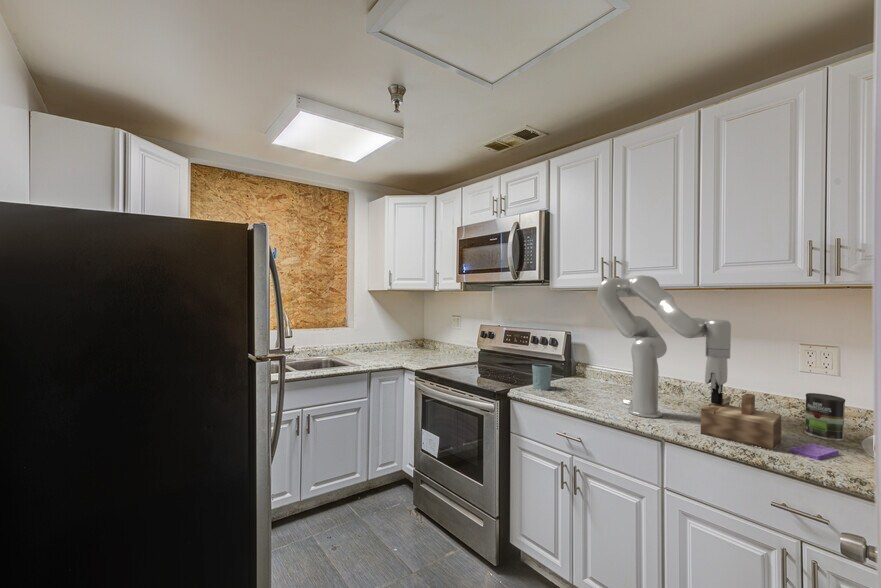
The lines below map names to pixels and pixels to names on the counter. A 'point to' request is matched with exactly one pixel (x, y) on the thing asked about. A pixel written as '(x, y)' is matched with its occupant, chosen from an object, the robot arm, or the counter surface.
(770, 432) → the toolbox
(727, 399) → the light brown wooden block
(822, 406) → the coffee can
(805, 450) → the sponges
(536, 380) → the drinking glass
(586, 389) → the counter surface
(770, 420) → the lid
